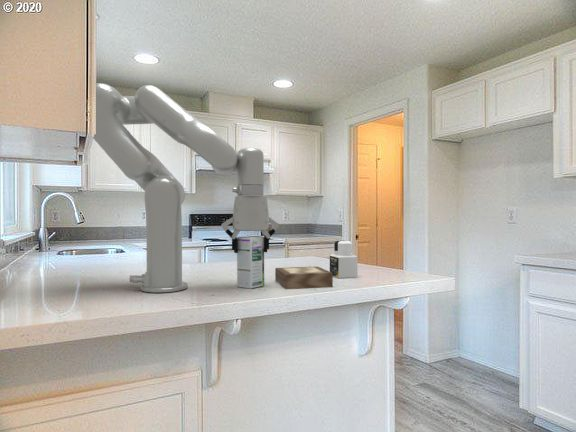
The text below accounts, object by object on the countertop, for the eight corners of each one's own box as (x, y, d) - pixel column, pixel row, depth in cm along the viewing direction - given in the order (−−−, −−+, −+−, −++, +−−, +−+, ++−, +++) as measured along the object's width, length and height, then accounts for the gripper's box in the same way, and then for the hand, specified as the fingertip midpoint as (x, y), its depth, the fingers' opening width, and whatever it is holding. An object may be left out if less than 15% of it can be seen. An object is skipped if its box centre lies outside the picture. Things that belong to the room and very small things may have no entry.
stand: (285, 288, 109) (285, 274, 109) (275, 280, 123) (275, 267, 123) (332, 286, 113) (332, 272, 113) (317, 278, 126) (317, 266, 126)
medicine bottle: (329, 275, 134) (329, 240, 134) (348, 274, 136) (348, 239, 136) (338, 278, 127) (338, 241, 127) (357, 277, 129) (357, 241, 129)
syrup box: (251, 289, 109) (251, 237, 109) (236, 286, 113) (236, 236, 113) (264, 286, 114) (264, 236, 113) (249, 283, 117) (250, 235, 117)
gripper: (220, 190, 107) (221, 254, 107) (282, 191, 111) (282, 252, 111) (219, 192, 114) (219, 251, 115) (277, 192, 119) (277, 250, 119)
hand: (250, 252), depth 113 cm, fingers closed on syrup box, 8 cm apart
